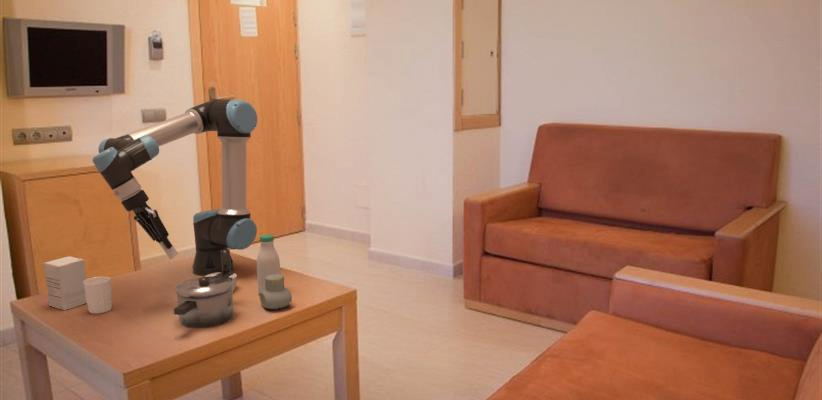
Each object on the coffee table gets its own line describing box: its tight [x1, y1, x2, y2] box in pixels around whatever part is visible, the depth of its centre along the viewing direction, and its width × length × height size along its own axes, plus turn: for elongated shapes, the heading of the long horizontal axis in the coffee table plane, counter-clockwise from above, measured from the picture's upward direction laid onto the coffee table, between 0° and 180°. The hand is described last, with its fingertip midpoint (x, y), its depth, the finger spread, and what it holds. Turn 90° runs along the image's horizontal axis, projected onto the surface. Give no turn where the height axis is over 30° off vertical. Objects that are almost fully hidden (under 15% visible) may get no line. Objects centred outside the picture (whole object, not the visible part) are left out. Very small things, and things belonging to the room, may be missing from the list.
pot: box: [173, 277, 235, 329], centre depth 200 cm, size 30×16×9 cm, turn 168°
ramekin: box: [204, 272, 238, 292], centre depth 226 cm, size 11×11×5 cm
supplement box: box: [42, 255, 88, 311], centre depth 214 cm, size 9×9×15 cm
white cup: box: [83, 276, 113, 314], centre depth 209 cm, size 8×8×10 cm
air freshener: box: [259, 273, 293, 310], centre depth 209 cm, size 11×8×10 cm
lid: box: [175, 248, 235, 298], centre depth 202 cm, size 24×17×8 cm
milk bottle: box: [256, 234, 282, 295], centre depth 221 cm, size 8×8×20 cm
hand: (174, 256), depth 210 cm, fingers closed
